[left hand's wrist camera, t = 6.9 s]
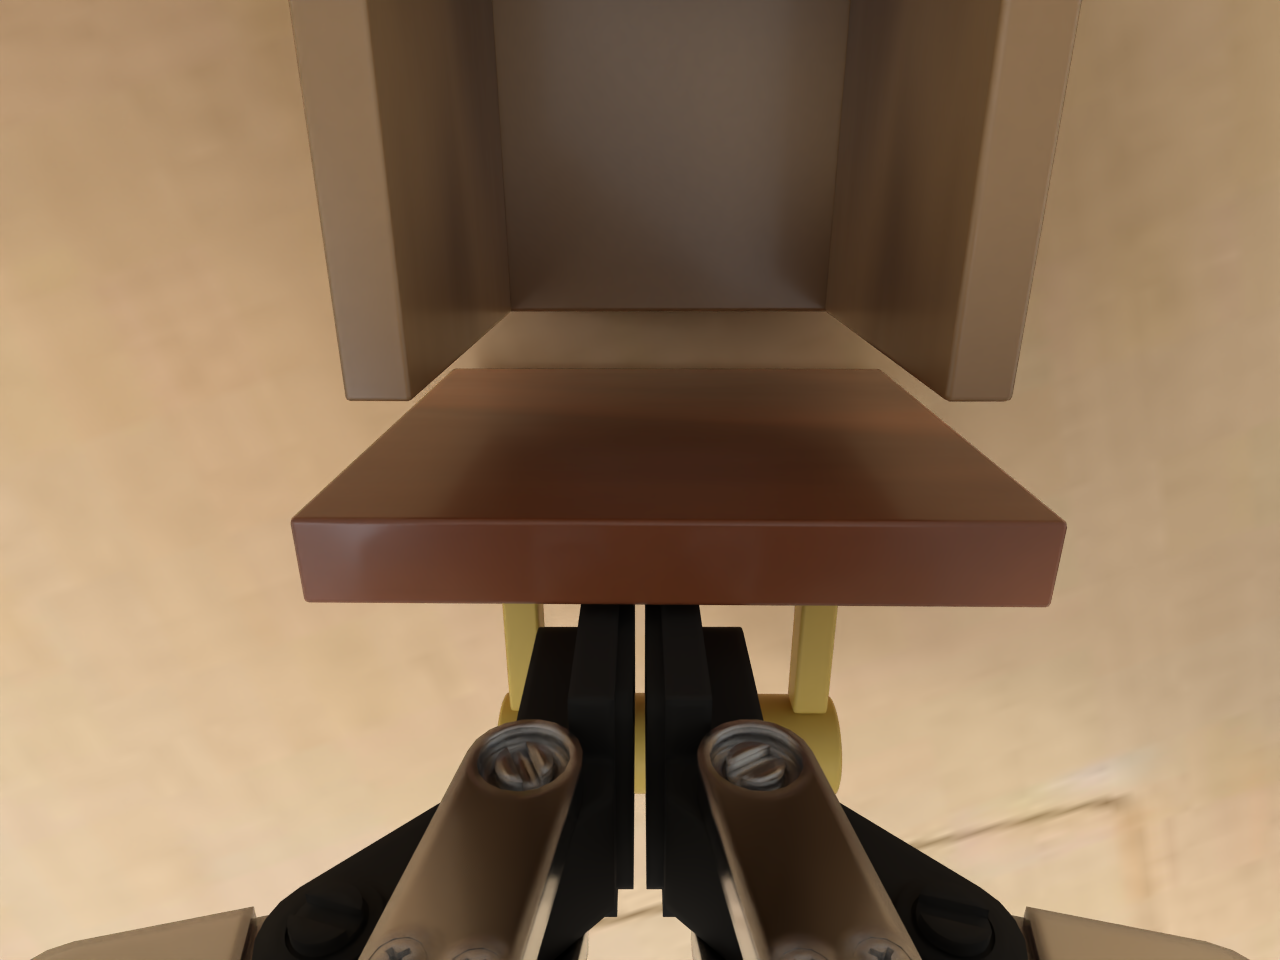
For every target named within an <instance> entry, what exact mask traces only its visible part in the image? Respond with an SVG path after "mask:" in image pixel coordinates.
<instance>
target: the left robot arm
mask: <svg viewBox="0 0 1280 960" xmlns="http://www.w3.org/2000/svg"><path fill="white" fill-rule="evenodd" d="M634 778H635V604H581V608H580V615H579V622H578V627H539V628H538V630H537V633H536V638H535V642H534V646H533V651H532V655H531V659H530V664H529V668H528V672H527V677H526V681H525V685H524V690H523V694H522V698H521V703H520V707H519V711H518V716H517V720H516V721H513V722H508V723H504V724H502V725H500V726H497V727H495V728H493V729H490V730H489V731H487V732H486V733H485V734H483V735H482V736H481V737H479V738H478V739H476V741H475V742H474V743H473V745H472V746H471V747H470V749H469V750H468V751H467V753H466V755H465V757H464V759H463V761H462V763H461V764H460V766H459V768H458V770H457V772H456V774H455V776H454V778H453V780H452V782H451V784H450V785H449V787H448V789H447V791H446V793H445V795H444V797H443V799H442V801H441V803H439V804H437V805H436V806H434V807H432V808H431V809H429V810H427V811H426V812H424V813H422V814H421V815H419V816H417V817H416V818H414V819H413V820H411V821H409V822H408V823H406V824H404V825H403V826H401V827H399V828H398V829H396V830H394V831H393V832H391V833H389V834H388V835H386V836H384V837H383V838H381V839H379V840H378V841H376V842H374V843H373V844H371V845H369V846H368V847H366V848H364V849H363V850H361V851H359V852H358V853H356V854H354V855H353V856H351V857H349V858H348V859H346V860H344V861H343V862H341V863H339V864H338V865H336V866H335V867H333V868H331V869H330V870H328V871H326V872H325V873H323V874H321V875H320V876H318V877H316V878H315V879H313V880H311V881H310V882H308V883H306V884H305V885H303V886H301V887H300V888H298V889H297V890H296V891H294V892H293V893H292V894H290V895H289V896H288V897H286V898H285V899H284V900H282V901H281V902H280V903H279V904H278V905H277V906H276V908H275V909H274V910H273V911H272V912H271V913H270V914H269V915H267V916H262V917H257V918H256V914H255V910H254V907H249V908H244V909H239V910H233V911H228V912H223V913H218V914H213V915H208V916H203V917H197V918H192V919H187V920H182V921H177V922H172V923H167V924H161V925H156V926H151V927H146V928H141V929H136V930H131V931H125V932H120V933H115V934H110V935H105V936H100V937H95V938H90V939H84V940H79V941H74V942H71V943H68V944H65V945H62V946H59V947H56V948H53V949H50V950H47V951H45V952H43V953H41V954H40V955H38V956H36V957H34V958H33V959H31V960H587V957H588V946H589V930H590V929H591V928H592V927H593V926H594V925H596V924H597V923H598V922H599V921H600V920H601V919H603V918H604V917H617V902H618V889H633V885H634ZM645 779H646V885H647V889H662V902H663V917H676V918H677V919H678V920H680V921H681V922H682V923H683V924H684V925H686V926H687V927H688V928H689V929H690V930H691V946H692V957H693V960H1249V959H1247V958H1246V957H1244V956H1242V955H1240V954H1239V953H1237V952H1235V951H1233V950H1230V949H1227V948H1224V947H1221V946H1218V945H1215V944H1212V943H1209V942H1206V941H1201V940H1196V939H1190V938H1185V937H1180V936H1175V935H1170V934H1165V933H1160V932H1155V931H1149V930H1144V929H1139V928H1134V927H1129V926H1124V925H1119V924H1113V923H1108V922H1103V921H1098V920H1093V919H1088V918H1083V917H1077V916H1072V915H1067V914H1062V913H1057V912H1052V911H1047V910H1041V909H1036V908H1031V907H1026V910H1025V914H1024V918H1023V917H1018V916H1013V915H1011V914H1010V913H1009V912H1008V911H1007V910H1006V909H1005V908H1004V906H1003V905H1002V904H1001V903H1000V902H999V901H998V900H996V899H995V898H994V897H992V896H991V895H990V894H988V893H987V892H986V891H984V890H983V889H982V888H980V887H979V886H977V885H975V884H974V883H972V882H970V881H969V880H967V879H965V878H964V877H962V876H960V875H959V874H957V873H955V872H954V871H952V870H950V869H949V868H947V867H945V866H944V865H942V864H940V863H939V862H937V861H936V860H934V859H932V858H931V857H929V856H927V855H926V854H924V853H922V852H921V851H919V850H917V849H916V848H914V847H912V846H911V845H909V844H907V843H906V842H904V841H902V840H901V839H899V838H897V837H896V836H894V835H892V834H891V833H889V832H887V831H886V830H884V829H882V828H881V827H879V826H877V825H876V824H874V823H872V822H871V821H869V820H867V819H866V818H864V817H862V816H861V815H859V814H858V813H856V812H854V811H853V810H851V809H849V808H848V807H846V806H844V805H843V804H841V803H839V801H838V799H837V797H836V795H835V793H834V791H833V789H832V787H831V785H830V784H829V782H828V780H827V778H826V776H825V774H824V772H823V770H822V768H821V766H820V764H819V763H818V761H817V759H816V757H815V755H814V753H813V751H812V750H811V749H810V747H809V746H808V745H807V743H806V742H805V741H804V739H802V738H801V737H799V736H798V735H797V734H795V733H794V732H793V731H791V730H790V729H787V728H785V727H783V726H780V725H778V724H776V723H772V722H767V721H764V720H763V716H762V711H761V707H760V703H759V698H758V694H757V690H756V685H755V681H754V677H753V672H752V668H751V664H750V659H749V655H748V651H747V646H746V642H745V638H744V633H743V630H742V628H741V627H702V622H701V615H700V608H699V605H648V604H645Z"/></svg>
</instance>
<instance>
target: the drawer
mask: <svg viewBox="0 0 1280 960" xmlns="http://www.w3.org/2000/svg"><path fill="white" fill-rule="evenodd" d="M1081 1H1082V0H289V7H290V13H291V20H292V27H293V34H294V41H295V48H296V55H297V62H298V69H299V76H300V83H301V90H302V97H303V104H304V111H305V118H306V125H307V132H308V139H309V146H310V152H311V159H312V166H313V173H314V180H315V187H316V194H317V201H318V208H319V215H320V222H321V229H322V236H323V243H324V250H325V257H326V264H327V271H328V278H329V284H330V291H331V298H332V305H333V312H334V319H335V326H336V333H337V340H338V347H339V354H340V361H341V368H342V375H343V382H344V389H345V396H346V399H347V400H350V401H409V400H411V399H412V398H414V397H415V396H416V395H417V394H418V393H419V392H420V391H422V390H423V389H424V388H425V387H426V386H427V385H428V384H429V383H431V382H432V381H433V380H434V379H435V378H436V377H437V376H438V375H440V374H441V373H442V372H443V371H444V370H445V369H446V368H447V367H449V366H450V365H451V364H452V363H453V362H454V361H455V360H457V359H458V358H459V357H460V356H461V355H462V354H463V353H464V352H466V351H467V350H468V349H469V348H470V347H471V346H472V345H473V344H475V343H476V342H477V341H478V340H479V339H480V338H481V337H483V336H484V335H485V334H486V333H487V332H488V331H489V330H490V329H492V328H493V327H494V326H495V325H496V324H497V323H498V322H499V321H501V320H502V319H503V318H504V317H505V316H506V315H507V314H508V313H510V312H511V311H826V312H828V313H829V314H830V315H832V316H833V317H834V318H836V319H837V320H838V321H840V322H841V323H842V324H844V325H845V326H847V327H848V328H849V329H851V330H852V331H853V332H855V333H856V334H857V335H859V336H860V337H861V338H863V339H864V340H865V341H867V342H868V343H870V344H871V345H872V346H874V347H875V348H876V349H878V350H879V351H880V352H882V353H883V354H884V355H886V356H887V357H888V358H890V359H891V360H893V361H894V362H895V363H897V364H898V365H899V366H901V367H902V368H903V369H905V370H906V371H907V372H909V373H910V374H911V375H913V376H914V377H916V378H917V379H918V380H920V381H921V382H922V383H924V384H925V385H926V386H928V387H929V388H930V389H932V390H933V391H934V392H936V393H937V394H939V395H940V396H941V397H943V398H944V399H945V400H948V401H981V402H1004V401H1007V400H1010V399H1011V397H1012V394H1013V388H1014V383H1015V377H1016V371H1017V366H1018V360H1019V354H1020V348H1021V343H1022V337H1023V331H1024V326H1025V320H1026V314H1027V309H1028V303H1029V297H1030V292H1031V286H1032V280H1033V274H1034V269H1035V263H1036V257H1037V252H1038V246H1039V240H1040V235H1041V229H1042V223H1043V218H1044V212H1045V206H1046V201H1047V195H1048V189H1049V183H1050V178H1051V172H1052V166H1053V161H1054V155H1055V149H1056V144H1057V138H1058V132H1059V127H1060V121H1061V115H1062V110H1063V104H1064V98H1065V92H1066V87H1067V81H1068V75H1069V70H1070V64H1071V58H1072V53H1073V47H1074V41H1075V36H1076V30H1077V24H1078V19H1079V13H1080V7H1081ZM291 528H292V533H293V539H294V544H295V550H296V555H297V561H298V566H299V572H300V577H301V583H302V588H303V594H304V599H305V600H306V601H307V602H344V603H496V604H502V605H503V618H504V631H505V644H506V657H507V670H508V683H509V693H507V694H506V696H505V698H504V700H503V703H502V706H501V710H500V715H499V721H498V726H500V725H502V724H504V723H508V722H513V721H516V720H517V716H518V711H519V707H520V703H521V698H522V694H523V690H524V685H525V681H526V677H527V672H528V668H529V664H530V659H531V655H532V651H533V646H534V642H535V638H536V633H537V630H538V628H539V627H544V609H543V604H648V605H795V613H794V625H793V638H792V650H791V663H790V675H789V688H788V694H758V698H759V703H760V707H761V711H762V716H763V720H764V721H767V722H772V723H776V724H778V725H780V726H783V727H785V728H787V729H790V730H791V731H793V732H794V733H795V734H797V735H798V736H799V737H801V738H802V739H804V741H805V742H806V743H807V745H808V746H809V747H810V749H811V750H812V751H813V753H814V755H815V757H816V759H817V761H818V763H819V764H820V766H821V768H822V770H823V772H824V774H825V776H826V778H827V780H828V782H829V784H830V785H831V787H832V789H833V791H834V793H835V794H836V793H837V791H838V789H839V785H840V780H841V772H842V745H841V734H840V727H839V721H838V716H837V712H836V709H835V706H834V704H833V701H832V699H831V698H830V697H829V686H830V676H831V666H832V657H833V647H834V637H835V627H836V618H837V608H838V606H953V607H1047V606H1049V605H1050V603H1051V599H1052V594H1053V590H1054V585H1055V580H1056V576H1057V571H1058V566H1059V562H1060V557H1061V553H1062V548H1063V543H1064V539H1065V534H1066V529H1067V525H1066V522H1065V521H1064V520H1063V519H1062V518H1060V517H1059V516H1058V515H1057V514H1055V513H1054V512H1053V511H1052V510H1051V509H1049V508H1048V507H1047V506H1046V505H1045V504H1043V503H1042V502H1041V501H1040V500H1038V499H1037V498H1036V497H1035V496H1034V495H1032V494H1031V493H1030V492H1029V491H1027V490H1026V489H1025V488H1024V487H1023V486H1021V485H1020V484H1019V483H1018V482H1016V481H1015V480H1014V479H1013V478H1012V477H1010V476H1009V475H1008V474H1007V473H1006V472H1004V471H1003V470H1002V469H1001V468H999V467H998V466H997V465H996V464H995V463H993V462H992V461H991V460H990V459H988V458H987V457H986V456H985V455H984V454H982V453H981V452H980V451H979V450H977V449H976V448H975V447H974V446H973V445H971V444H970V443H969V442H968V441H966V440H965V439H964V438H963V437H962V436H960V435H959V434H958V433H957V432H956V431H954V430H953V429H952V428H951V427H949V426H948V425H947V424H946V423H945V422H943V421H942V420H941V419H940V418H938V417H937V416H936V415H935V414H934V413H932V412H931V411H930V410H929V409H927V408H926V407H925V406H924V405H923V404H921V403H920V402H919V401H918V400H917V399H915V398H914V397H913V396H912V395H910V394H909V393H908V392H907V391H906V390H904V389H903V388H902V387H901V386H899V385H898V384H897V383H896V382H895V381H893V380H892V379H891V378H890V377H888V376H887V375H886V374H885V373H884V372H882V371H881V370H879V369H454V370H452V371H451V372H450V373H449V374H448V375H447V376H446V377H445V378H444V379H443V380H441V381H440V382H439V383H438V384H437V385H436V386H435V387H434V388H433V389H432V390H431V391H429V392H428V393H427V394H426V395H425V396H424V397H423V398H422V399H421V400H420V401H419V402H418V403H416V404H415V405H414V406H413V407H412V408H411V409H410V410H409V411H408V412H407V413H406V414H404V415H403V416H402V417H401V418H400V419H399V420H398V421H397V422H396V423H395V424H394V425H393V426H391V427H390V428H389V429H388V430H387V431H386V432H385V433H384V434H383V435H382V436H381V437H380V438H378V439H377V440H376V441H375V442H374V443H373V444H372V445H371V446H370V447H369V448H368V449H366V450H365V451H364V452H363V453H362V454H361V455H360V456H359V457H358V458H357V459H356V460H355V461H353V462H352V463H351V464H350V465H349V466H348V467H347V468H346V469H345V470H344V471H343V472H342V473H340V474H339V475H338V476H337V477H336V478H335V479H334V480H333V481H332V482H331V483H330V484H328V485H327V486H326V487H325V488H324V489H323V490H322V491H321V492H320V493H319V494H318V495H317V496H315V497H314V498H313V499H312V500H311V501H310V502H309V503H308V504H307V505H306V506H305V507H304V508H302V509H301V510H300V511H299V512H298V513H297V514H296V515H295V516H294V517H293V518H292V520H291ZM634 794H646V779H645V693H635V778H634Z"/></svg>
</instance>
